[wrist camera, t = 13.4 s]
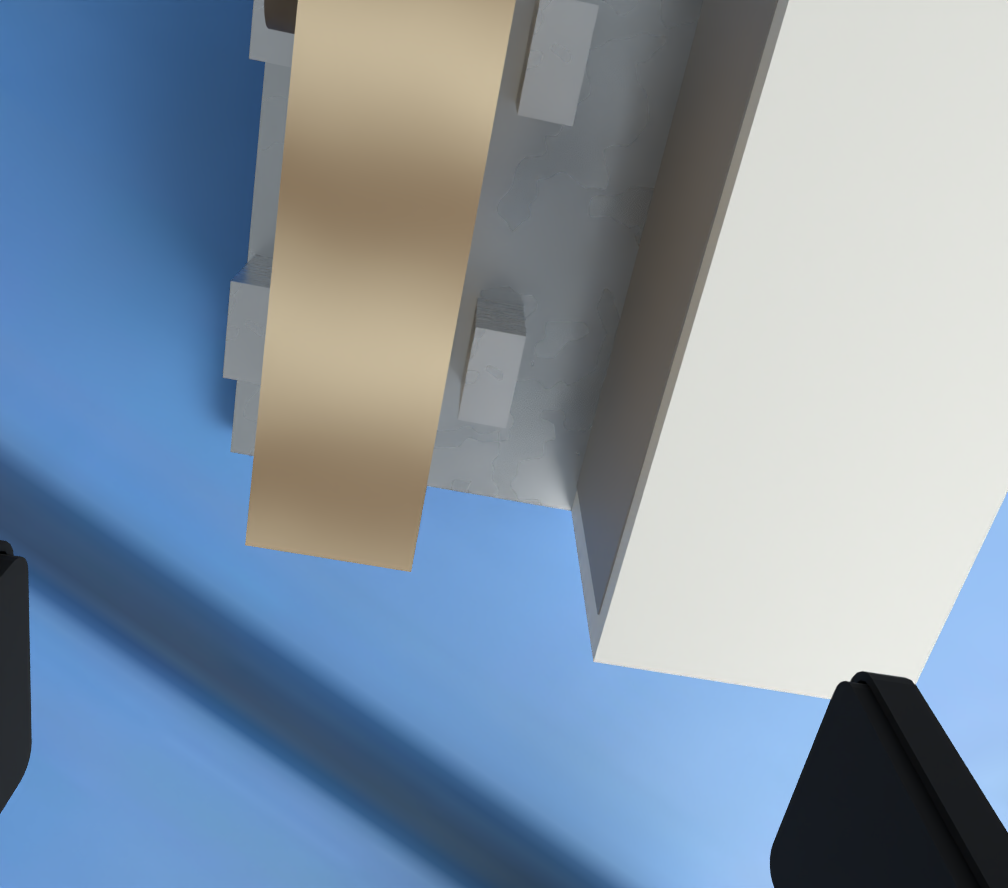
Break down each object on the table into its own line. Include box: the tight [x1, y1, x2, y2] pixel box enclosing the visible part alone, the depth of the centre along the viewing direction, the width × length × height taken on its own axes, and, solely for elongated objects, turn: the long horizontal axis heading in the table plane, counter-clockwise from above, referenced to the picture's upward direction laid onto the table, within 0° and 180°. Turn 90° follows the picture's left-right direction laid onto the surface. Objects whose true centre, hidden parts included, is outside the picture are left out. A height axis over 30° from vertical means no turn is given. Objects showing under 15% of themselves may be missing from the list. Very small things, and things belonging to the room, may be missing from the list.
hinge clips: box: [223, 0, 703, 511], centre depth 29 cm, size 20×12×4 cm, turn 169°
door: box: [245, 0, 516, 572], centre depth 25 cm, size 14×5×10 cm, turn 169°
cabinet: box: [572, 0, 1008, 699], centre depth 27 cm, size 20×9×10 cm, turn 169°
